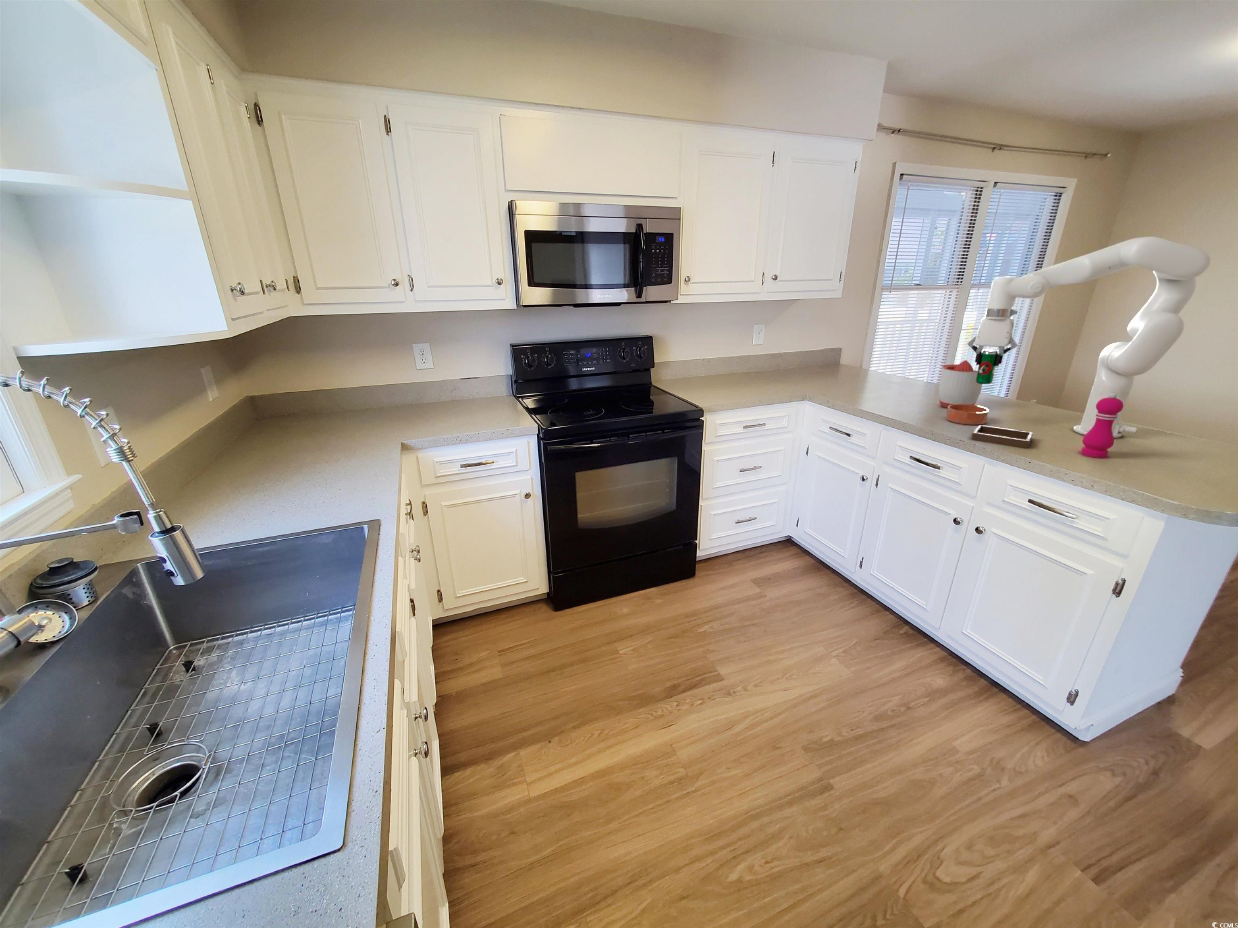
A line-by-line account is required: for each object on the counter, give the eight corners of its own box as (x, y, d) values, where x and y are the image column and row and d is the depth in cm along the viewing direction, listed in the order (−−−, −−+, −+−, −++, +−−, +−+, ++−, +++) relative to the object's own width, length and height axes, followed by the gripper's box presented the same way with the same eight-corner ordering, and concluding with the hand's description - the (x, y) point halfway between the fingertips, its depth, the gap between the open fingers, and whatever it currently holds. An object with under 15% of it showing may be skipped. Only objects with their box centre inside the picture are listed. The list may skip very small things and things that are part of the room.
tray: (1031, 439, 171) (1033, 432, 170) (1026, 448, 164) (1029, 441, 163) (977, 431, 181) (979, 424, 180) (971, 439, 174) (972, 432, 173)
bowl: (988, 419, 194) (991, 407, 193) (982, 427, 186) (985, 414, 184) (949, 414, 203) (952, 402, 201) (942, 421, 194) (944, 409, 192)
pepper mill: (1077, 449, 161) (1097, 389, 154) (1108, 453, 157) (1129, 391, 149) (1078, 455, 156) (1098, 393, 149) (1109, 460, 151) (1131, 396, 144)
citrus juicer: (989, 407, 210) (1000, 360, 202) (960, 413, 204) (971, 364, 197) (953, 400, 223) (963, 355, 216) (926, 405, 217) (935, 359, 210)
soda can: (994, 384, 180) (1001, 351, 176) (978, 384, 182) (985, 351, 177) (988, 381, 185) (995, 349, 181) (972, 381, 186) (979, 349, 182)
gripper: (1030, 313, 171) (1018, 365, 178) (972, 312, 183) (962, 361, 189) (1027, 315, 166) (1014, 368, 173) (967, 314, 178) (957, 364, 184)
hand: (987, 364), depth 181 cm, fingers closed on soda can, 5 cm apart
